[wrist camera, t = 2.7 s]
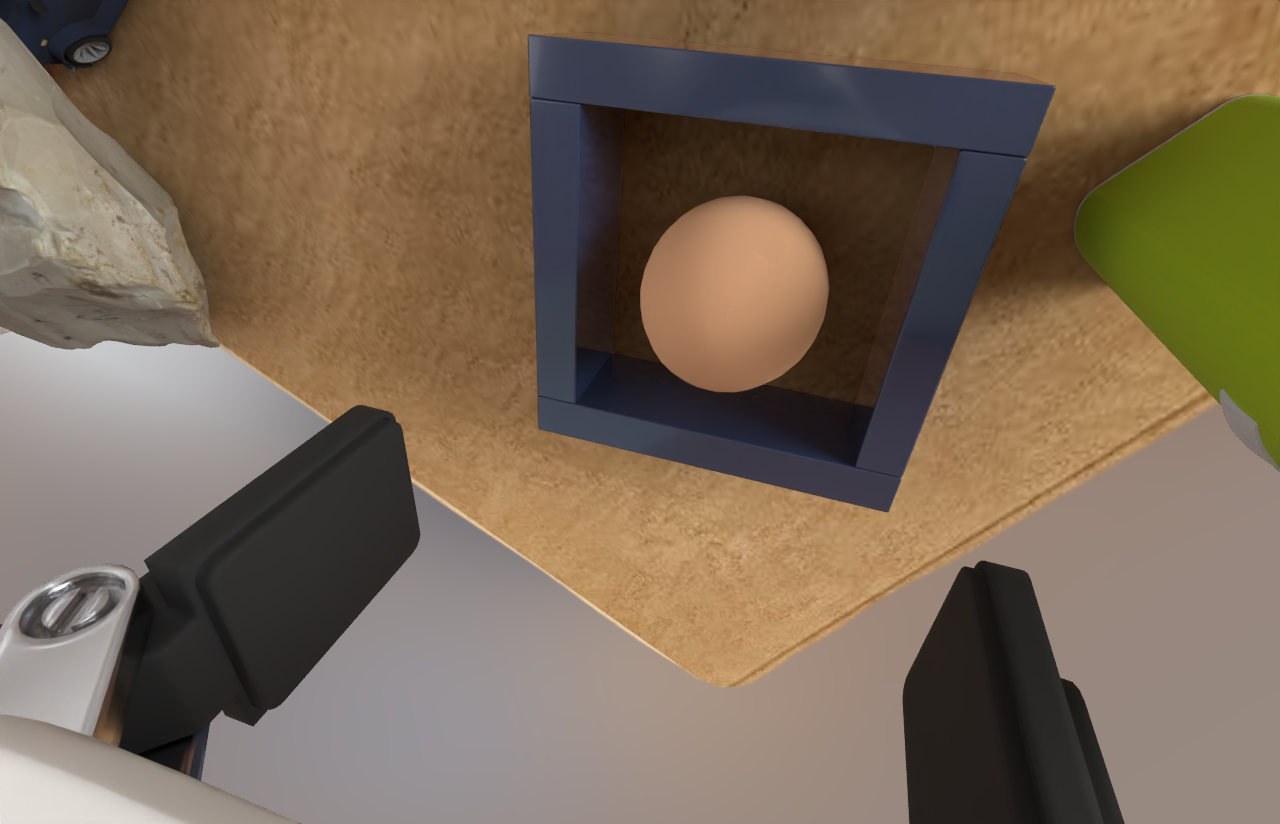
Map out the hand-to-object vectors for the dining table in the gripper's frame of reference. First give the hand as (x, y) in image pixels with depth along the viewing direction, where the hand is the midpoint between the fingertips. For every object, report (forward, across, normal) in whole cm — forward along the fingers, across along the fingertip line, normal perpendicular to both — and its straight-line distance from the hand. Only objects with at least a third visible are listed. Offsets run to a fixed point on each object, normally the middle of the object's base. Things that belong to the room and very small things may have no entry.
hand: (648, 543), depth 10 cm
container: (+16, +1, 0) cm, 16 cm away
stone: (+14, +28, -2) cm, 32 cm away
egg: (+16, +1, 0) cm, 16 cm away
